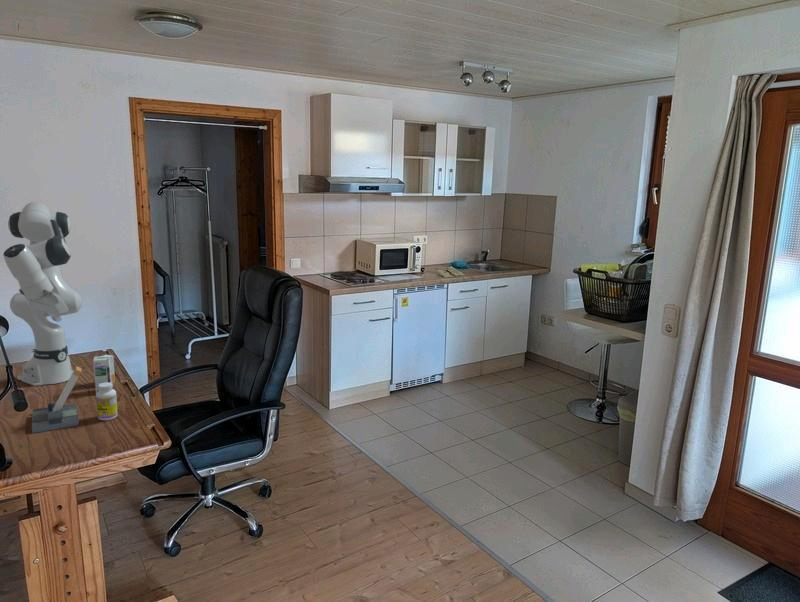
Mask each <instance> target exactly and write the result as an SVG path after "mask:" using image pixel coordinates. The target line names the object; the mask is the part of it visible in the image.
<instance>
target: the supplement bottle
mask: <svg viewBox="0 0 800 602" xmlns="http://www.w3.org/2000/svg"><path fill="white" fill-rule="evenodd" d="M98 388H99V391H98V392H97V393H96V392H95V400H96V415H97V419H98V420H100V421H111V420H113V419H116V418H117V417H118V400H117V399H118V398H117V391H116V390H115V389H114V383H110V382H106V383H101V384H99V385H98Z"/></svg>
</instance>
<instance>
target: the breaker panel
mask: <svg viewBox="0 0 800 602" xmlns="http://www.w3.org/2000/svg"><path fill="white" fill-rule="evenodd" d="M56 402H57V401H56ZM56 402H55V401H54V402H48V403H47V407H48V409H45V410H38V411H33V410H32V415H31V417H32V418H31V432H32V434H36V433H41V432H48V431H54V430H60V429H66V428H72V427H77V426H80V421H79V414H78V406H77V404H76V405H71V406H64V407H62V408H61V410H59V411H53V412H52V408H53V407H54V406H55V404H56Z"/></svg>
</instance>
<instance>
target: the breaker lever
mask: <svg viewBox="0 0 800 602" xmlns="http://www.w3.org/2000/svg"><path fill="white" fill-rule="evenodd" d="M82 372H83V370H82V367H80V366H77V365H75V368H74V369H73V373H72V375H71V377H70V379H69V380H67V381H66V385H64V388H63V389H62V392H61V393H60V394H59V397H58V399H57V401H56V404H55V406H54V407H53V408H52V412H53V411H59V410H61V408H62V407H63V405H65V403H66V401H67V399H68V398H69V396H70V394H71V392H72V390H73V388H74V386H75V385H76V383H77V381H78V379H79V377H80V376H81V375H82Z"/></svg>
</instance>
